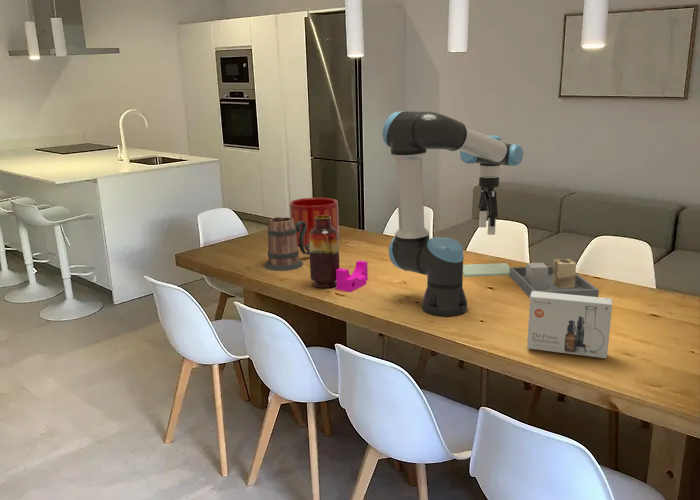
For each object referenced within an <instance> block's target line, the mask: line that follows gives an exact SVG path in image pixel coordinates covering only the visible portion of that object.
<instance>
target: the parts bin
mask: <svg viewBox="0 0 700 500" xmlns="http://www.w3.org/2000/svg"><path fill="white" fill-rule="evenodd" d="M546 266H547V267H548V281H547V289H534V288H533V287H532V286H531V285H530V284H529V283H528V282H527V281H526V266H514V267H511V266H510V272H509V275H508V277H510V279H511V280H512V281H514V283H515V284H516V285H517V286H518V287H519V288H520V289H521V290H522V291H523V293H525V294H526V295H527V296H528V298H530V295H531V292H532V291H539V292H549V293H559V294H570V295H581V296H591V297H599V294H600V293H599V292H600V289H598V288H597V287H596V286H595V285H593V284H592V283H590V282H589V281H588V280H586V279H585V278H584V277H582V276H581V275H579V274H578V273H577V272H576V275H575V288H557V287H556V286H555V285H554V284H553V283H552V279H553V265H546Z"/></svg>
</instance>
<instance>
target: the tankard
mask: <svg viewBox="0 0 700 500" xmlns="http://www.w3.org/2000/svg"><path fill="white" fill-rule="evenodd" d="M301 223H302V229H301V226H300V225H301ZM300 229H301V231H300ZM305 231H306V223H305V222H304V221H298V222H297V223H296V224H295V223H294V219H293V218H290V217H281V216H280V217H279V216H278V217H272V218H270V219H269V221H268V228H267V239H268V245H267V246H268V251H267V256H268V260H266V263H265V264H264V268H265V270H269V271H274V272H285V271H293V270H297V269H300V268H302V267H303V265H304V263H303V262H302V260H301V259H300V257H299V254H300V253H299V249H300V251H301V253H302V254H303V255H306V256H310V254H309V245H308V244H307V245H305V247H304V246H303V238H304V234H305ZM296 232H299V233H300V235H299V246H297V236H296ZM298 247H299V249H298Z"/></svg>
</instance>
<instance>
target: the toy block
mask: <svg viewBox="0 0 700 500" xmlns="http://www.w3.org/2000/svg"><path fill="white" fill-rule="evenodd" d="M368 268H369V267H368V261H365V260H357V261H356V262H355V268H354V270H353V272H352V273H351V274H350V270H349V269H348V268H342V267H339V269H337V270H336V286H335V287H336V290H339V291H343V292H348V293H351V292H353V291H356V290H358V289H360V288H363V286H365V285H367V281H368V280H369V277H368V276H369V275H368V273H369V272H368Z"/></svg>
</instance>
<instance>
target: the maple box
mask: <svg viewBox="0 0 700 500" xmlns="http://www.w3.org/2000/svg"><path fill="white" fill-rule="evenodd" d="M552 266H553V279H552V283H553V284H554V285H555V286H556V287H557V288H575V275H576V273H577V262H576V261H574V260H572V259H570V258H565V259H559V258H557V259H553V265H552Z"/></svg>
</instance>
